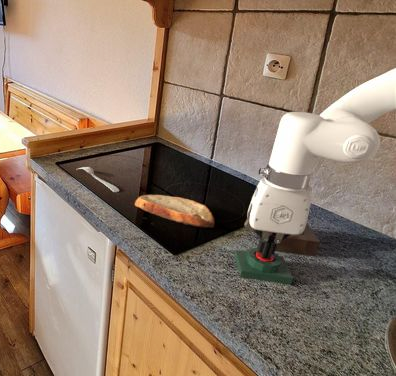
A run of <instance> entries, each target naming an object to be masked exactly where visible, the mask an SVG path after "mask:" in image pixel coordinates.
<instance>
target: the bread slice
mask: <svg viewBox="0 0 396 376" xmlns="http://www.w3.org/2000/svg"><path fill="white" fill-rule="evenodd" d="M134 206H135V207H136V208H139V209H141V210H143V211H145V212H147V213H149V214H151V215H156V216H157V217H161V218H163V219H166V220H170V221H171V222H176V223H178V224H184V225H185V226H193V227H196V228H203V229H206V228H207V229H208V228H214V227H215V221H216V220H215V218H214V215H213V213H212V211H211V210H210V209H209V208H208V206H206V205H205V204H202V203H200V202H197V201H195V200H192V199H189V198H184V197H179V196H170V195H164V194H144V195H140V196H138V198H137V199H136V200H135V201H134Z"/></svg>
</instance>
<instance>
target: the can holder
mask: <svg viewBox="0 0 396 376" xmlns="http://www.w3.org/2000/svg"><path fill="white" fill-rule="evenodd" d="M271 233H272V232H269V236H270V235H271ZM320 243H321V242H320V240H319V238H318V237H317V235H316V233H315V232H314V231H313V229H312V227H311V226H310V224H309V222H307V223H306V227H305V229H304V231H303V233H301V235H300V236H291V237H290V236H289V237H287V238H285V239H283V240H281V242H280V243H279V244H277V246H276V249H275V252H278V253H286V254H294V255H299V256H308V257H316V254H317V251H318V249H319V246H320Z"/></svg>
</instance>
